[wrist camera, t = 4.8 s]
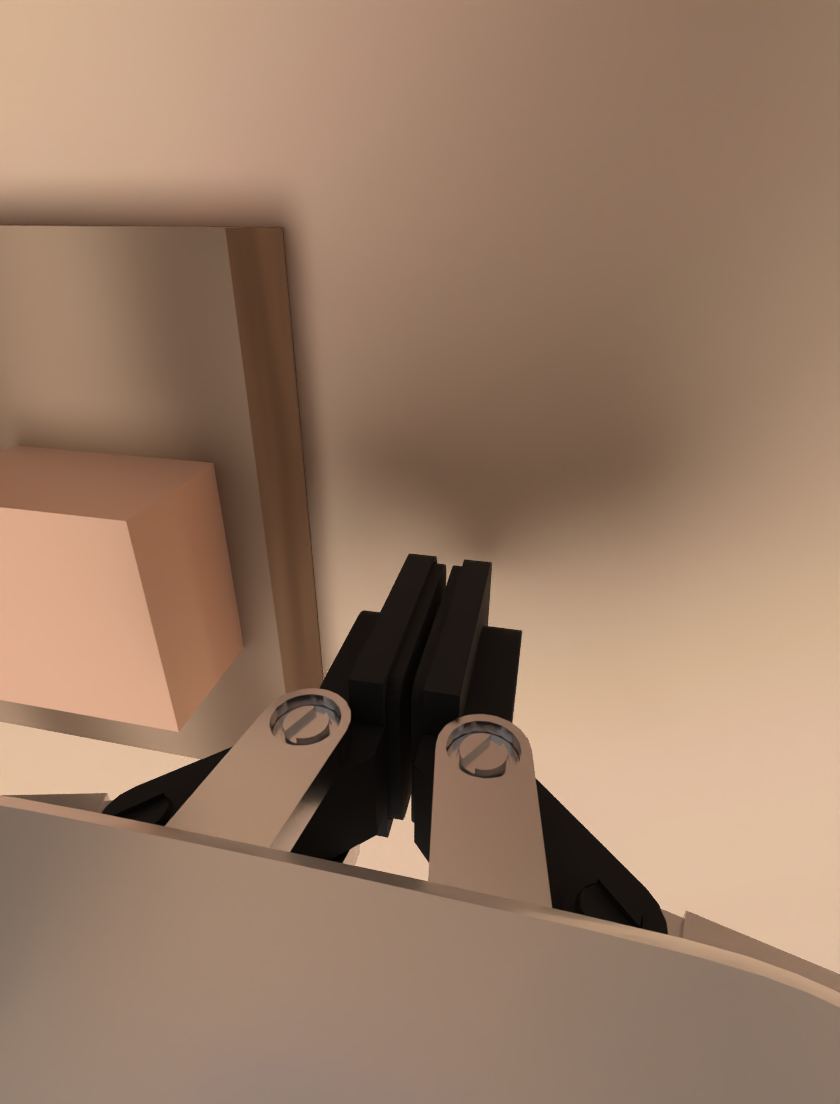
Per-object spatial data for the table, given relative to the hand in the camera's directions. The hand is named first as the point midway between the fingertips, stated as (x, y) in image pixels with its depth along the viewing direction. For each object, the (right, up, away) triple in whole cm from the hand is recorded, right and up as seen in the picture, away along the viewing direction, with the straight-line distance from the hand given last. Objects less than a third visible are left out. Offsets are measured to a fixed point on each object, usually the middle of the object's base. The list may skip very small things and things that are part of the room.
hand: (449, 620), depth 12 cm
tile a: (-8, +1, +2) cm, 8 cm away
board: (-10, +3, +5) cm, 12 cm away
